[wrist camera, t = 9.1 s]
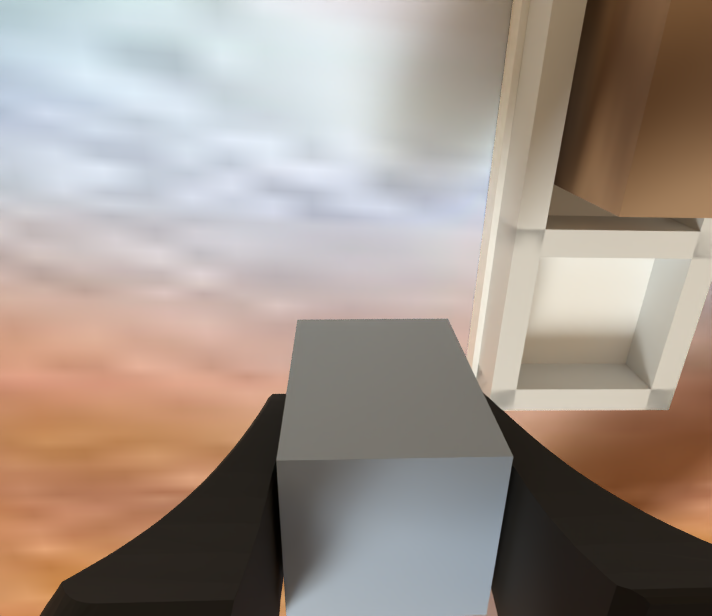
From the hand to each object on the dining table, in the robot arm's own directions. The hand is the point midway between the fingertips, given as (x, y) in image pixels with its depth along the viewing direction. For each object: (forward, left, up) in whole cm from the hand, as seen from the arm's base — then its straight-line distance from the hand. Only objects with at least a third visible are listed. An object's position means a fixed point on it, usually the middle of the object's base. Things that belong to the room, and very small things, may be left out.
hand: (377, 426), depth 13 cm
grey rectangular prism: (0, 0, -2) cm, 2 cm away
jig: (+4, -9, -9) cm, 14 cm away
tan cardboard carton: (+8, -9, -8) cm, 14 cm away
